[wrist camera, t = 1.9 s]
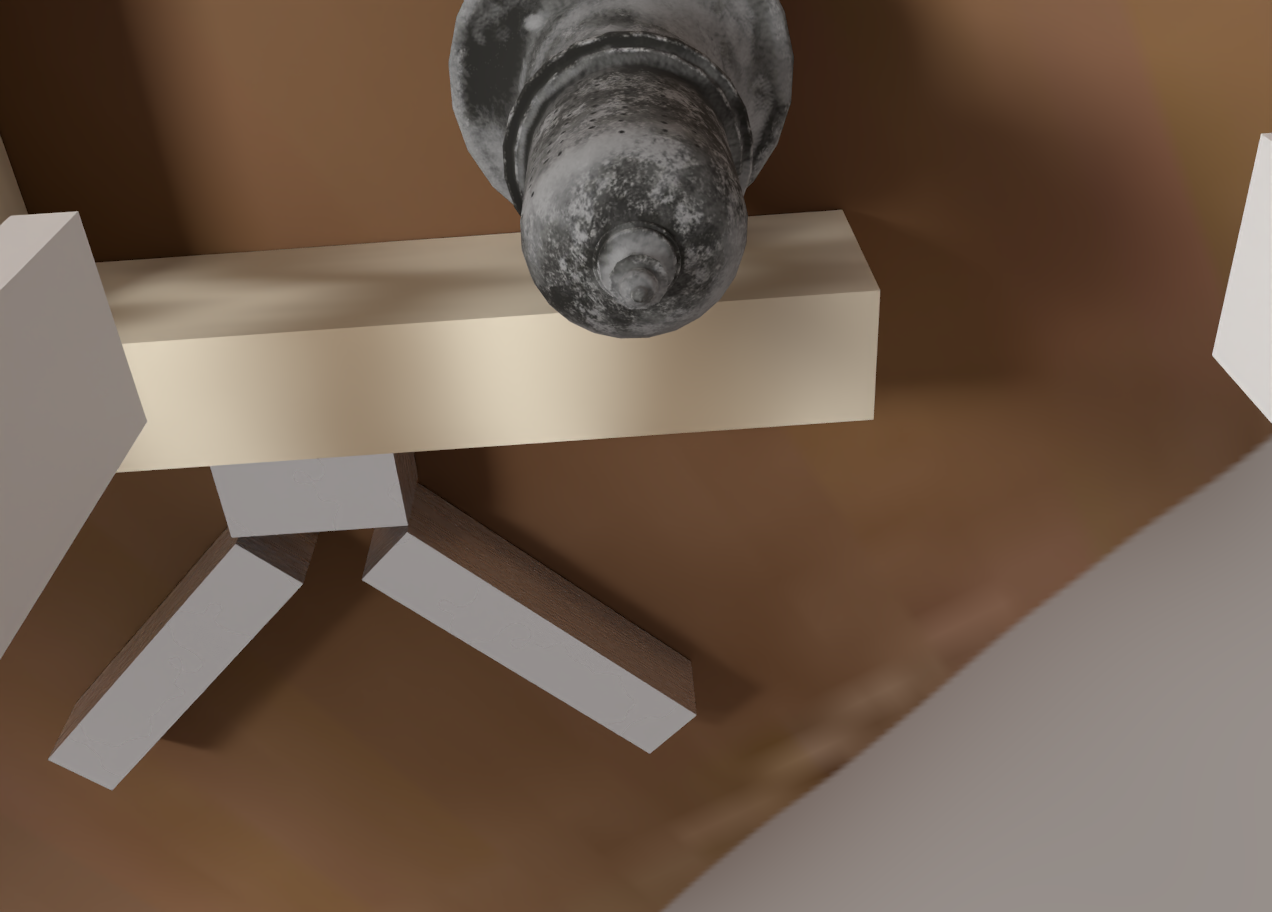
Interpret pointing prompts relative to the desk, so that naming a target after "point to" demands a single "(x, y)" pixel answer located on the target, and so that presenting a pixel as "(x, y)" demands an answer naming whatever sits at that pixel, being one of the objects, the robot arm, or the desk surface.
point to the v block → (397, 566)
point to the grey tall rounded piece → (624, 143)
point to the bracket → (472, 348)
